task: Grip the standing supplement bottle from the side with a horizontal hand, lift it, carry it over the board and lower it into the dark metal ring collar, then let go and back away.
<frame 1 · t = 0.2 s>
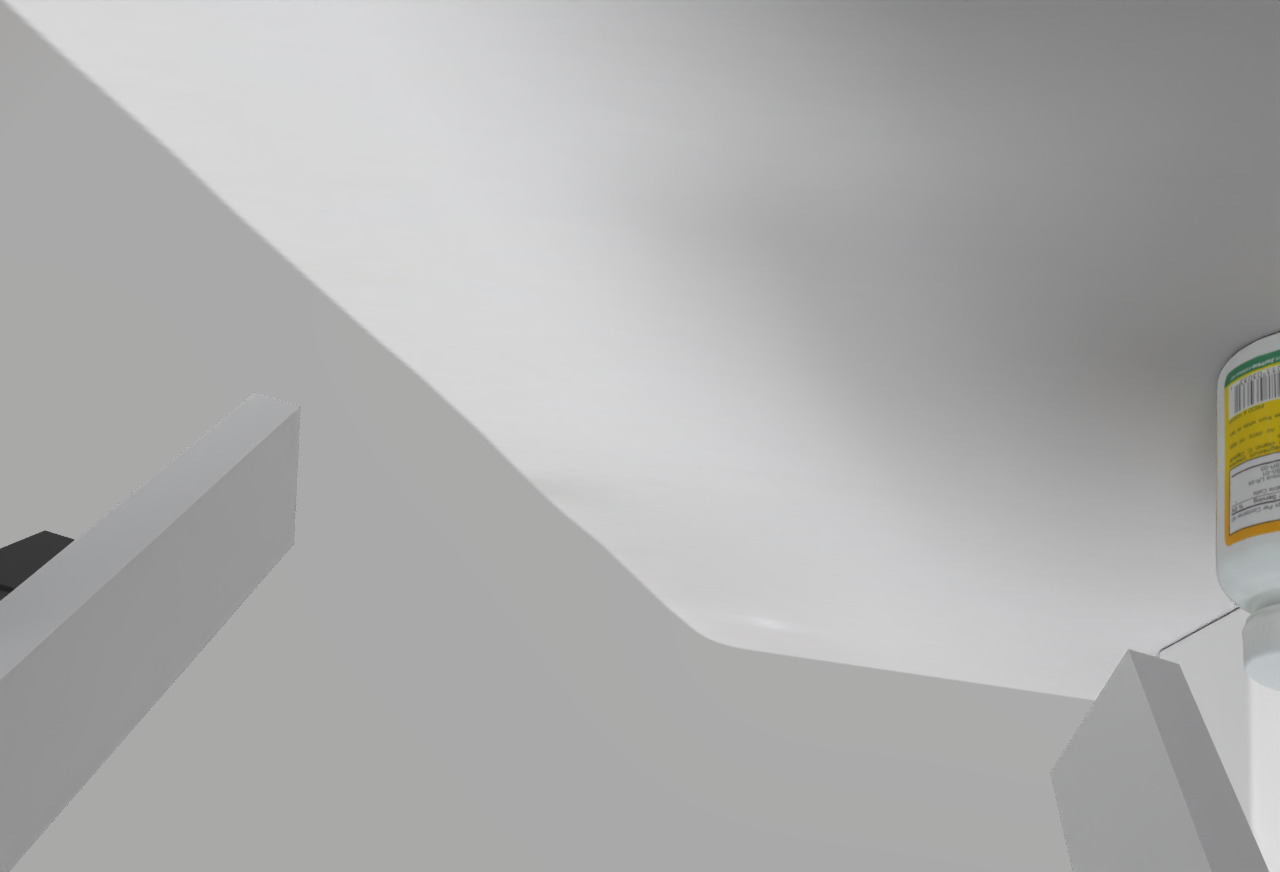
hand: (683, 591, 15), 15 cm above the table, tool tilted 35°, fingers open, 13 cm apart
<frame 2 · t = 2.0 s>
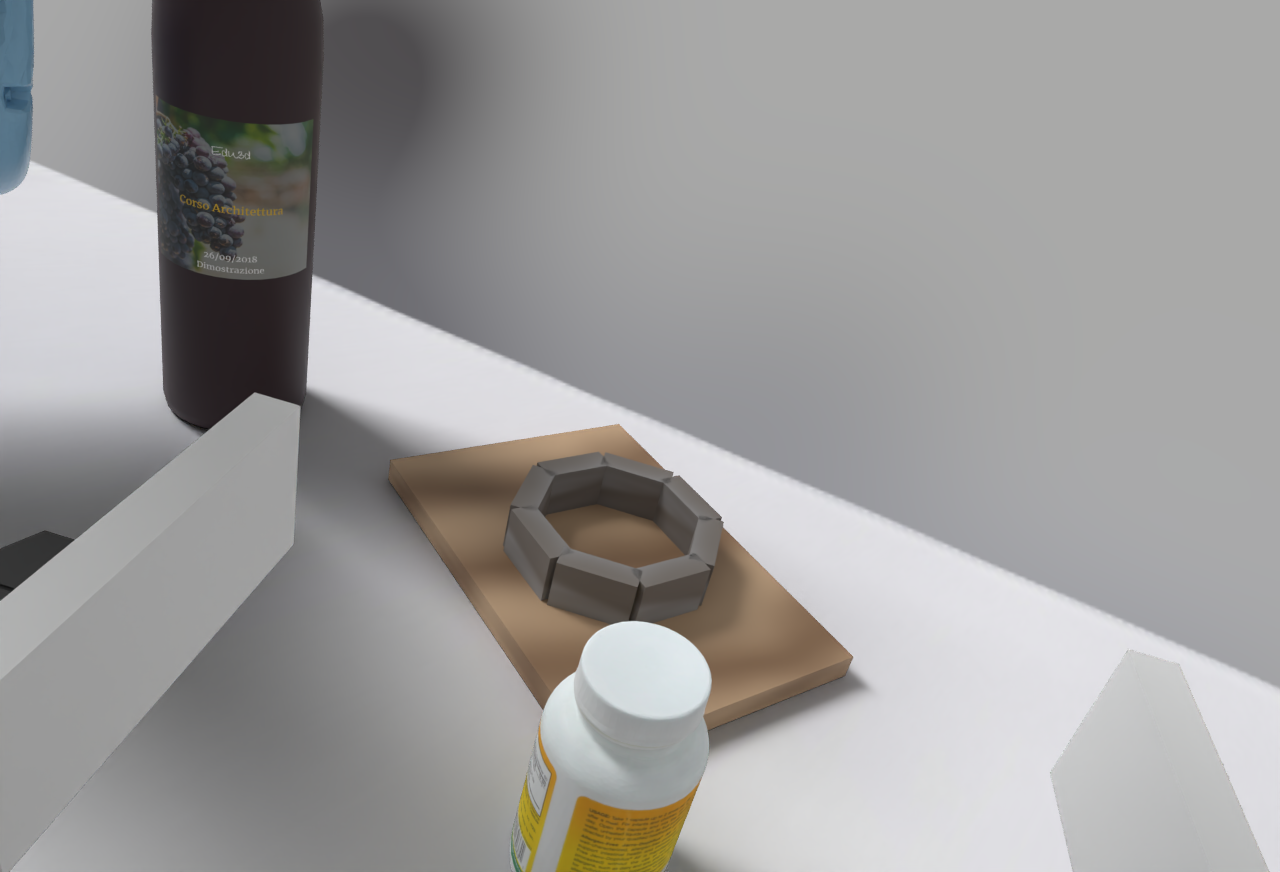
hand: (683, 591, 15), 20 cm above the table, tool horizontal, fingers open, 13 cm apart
board: (604, 572, 47), on the table
supplement bottle: (583, 867, 34), on the table
wine bottle: (236, 403, 53), on the table
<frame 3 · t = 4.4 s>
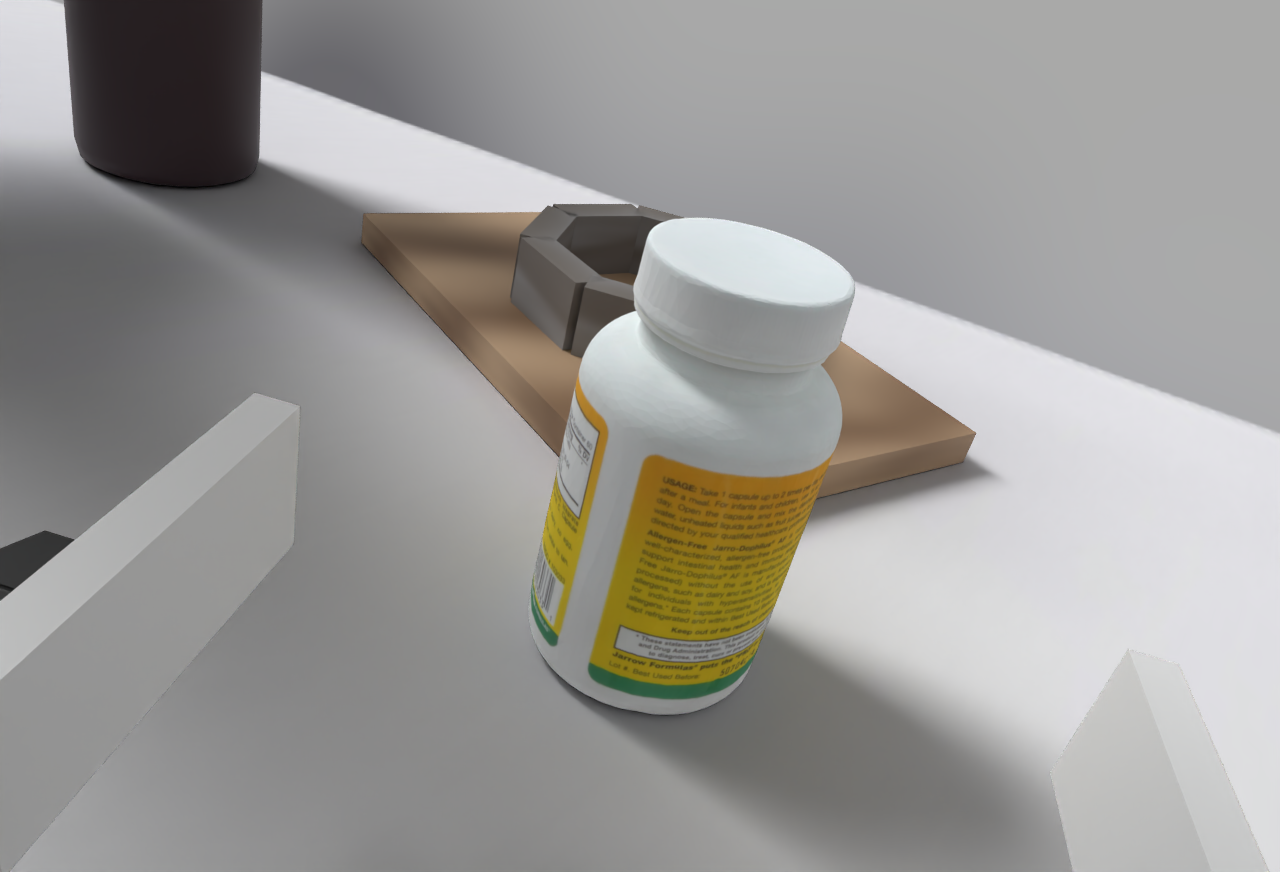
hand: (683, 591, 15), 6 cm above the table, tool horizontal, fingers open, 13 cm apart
board: (642, 344, 37), on the table
supplement bottle: (637, 643, 23), on the table
wine bottle: (170, 165, 42), on the table
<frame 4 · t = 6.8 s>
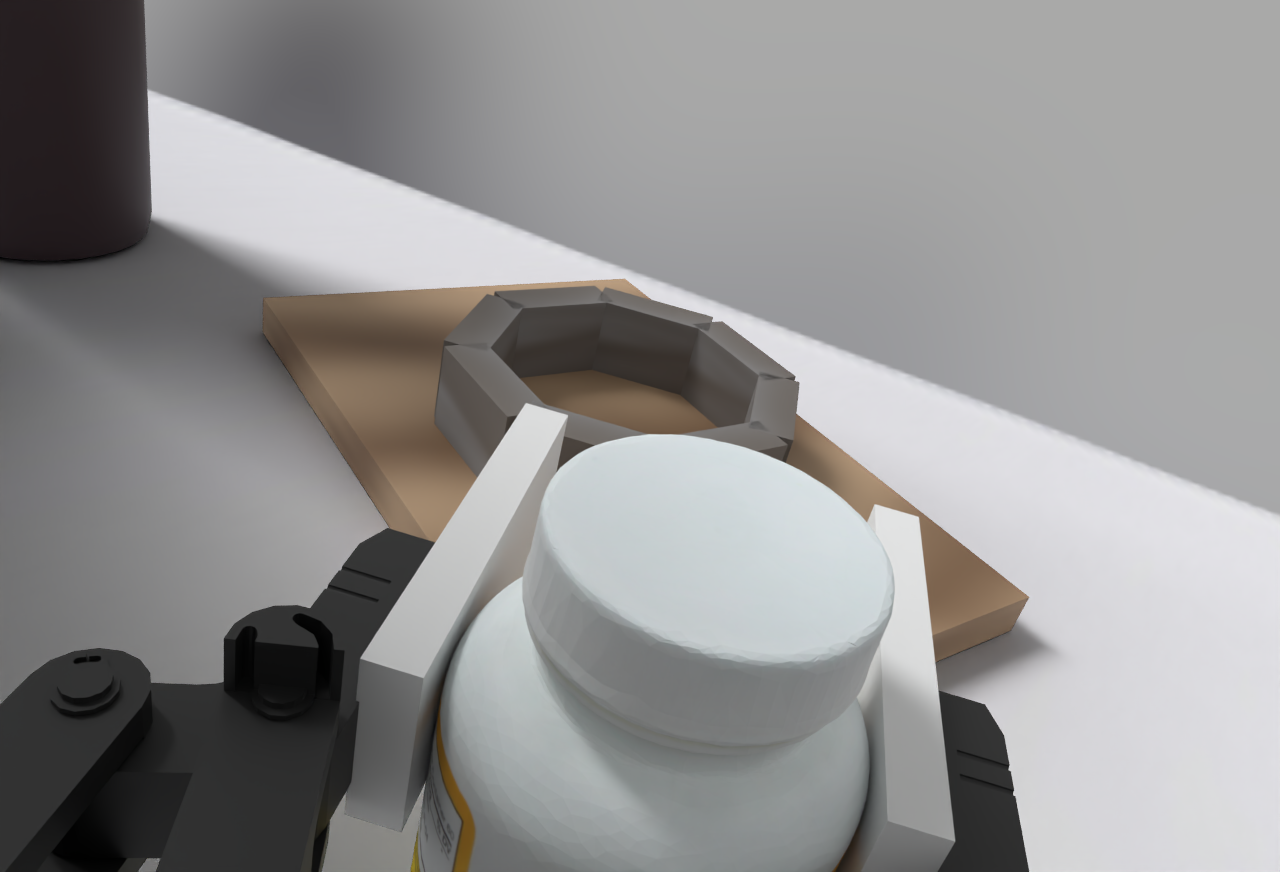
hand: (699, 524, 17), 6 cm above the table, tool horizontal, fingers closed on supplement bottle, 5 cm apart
board: (604, 468, 29), on the table
wine bottle: (41, 231, 35), on the table
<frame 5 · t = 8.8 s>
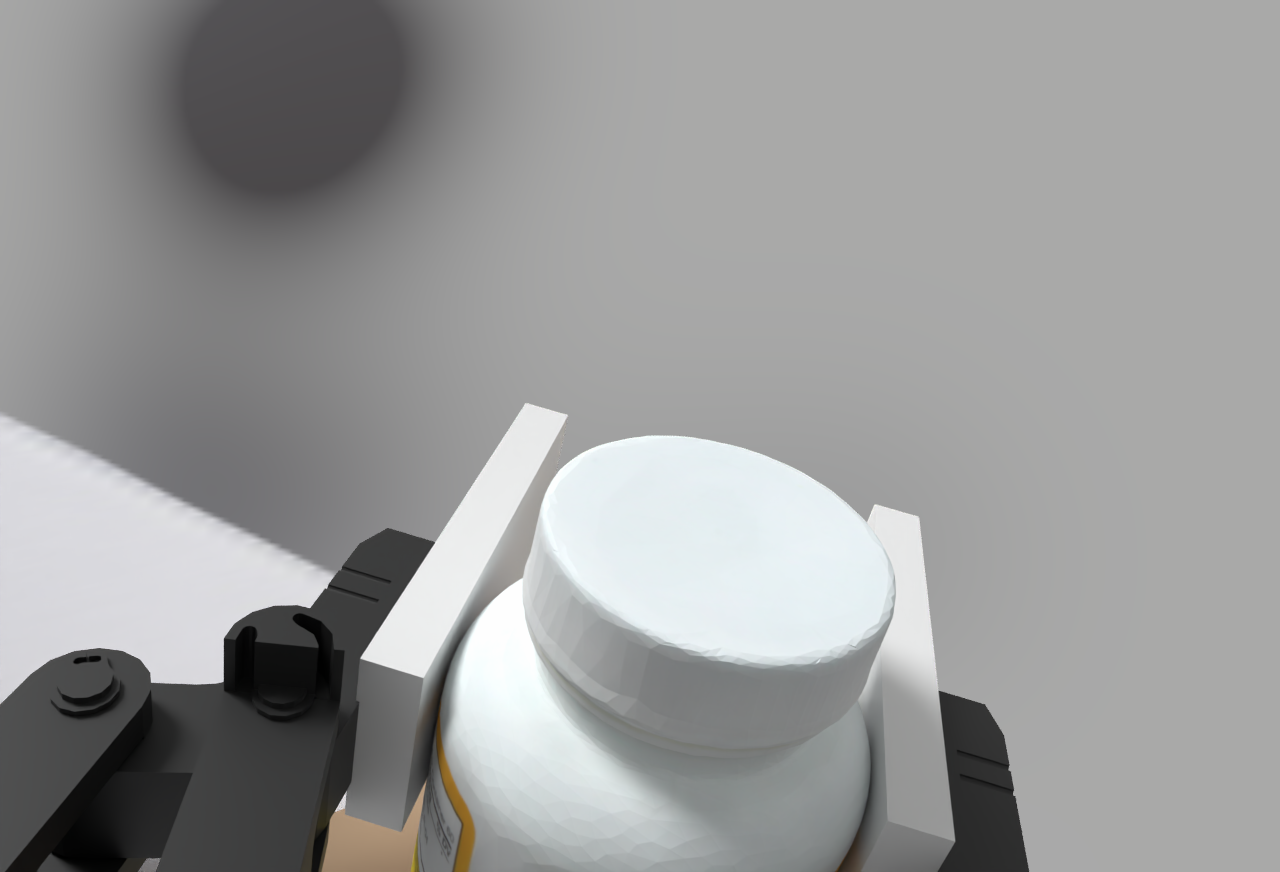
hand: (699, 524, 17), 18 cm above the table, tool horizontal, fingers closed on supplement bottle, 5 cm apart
when the fingers open (9 cm above the table, at t = 11.0 s): supplement bottle drops 2 cm, resting on board.
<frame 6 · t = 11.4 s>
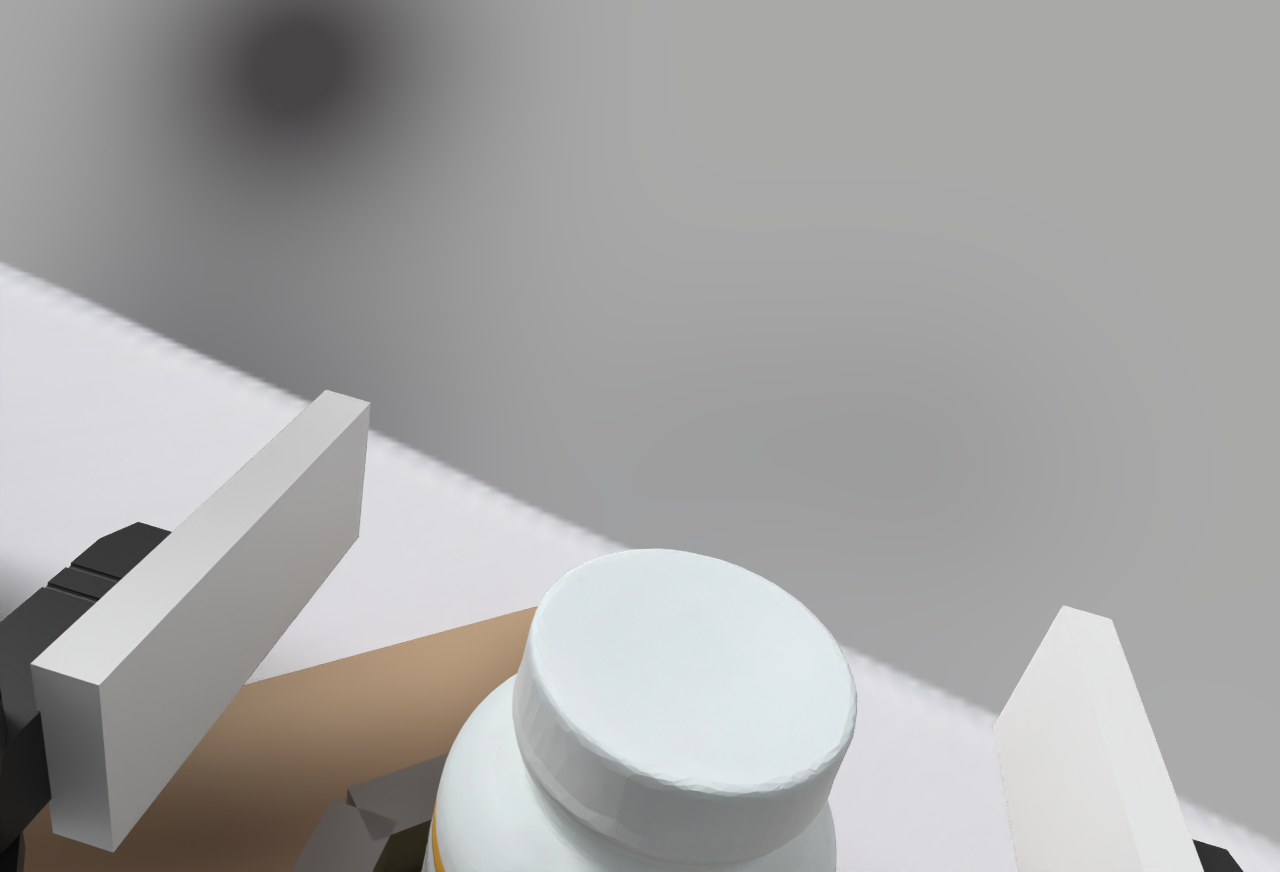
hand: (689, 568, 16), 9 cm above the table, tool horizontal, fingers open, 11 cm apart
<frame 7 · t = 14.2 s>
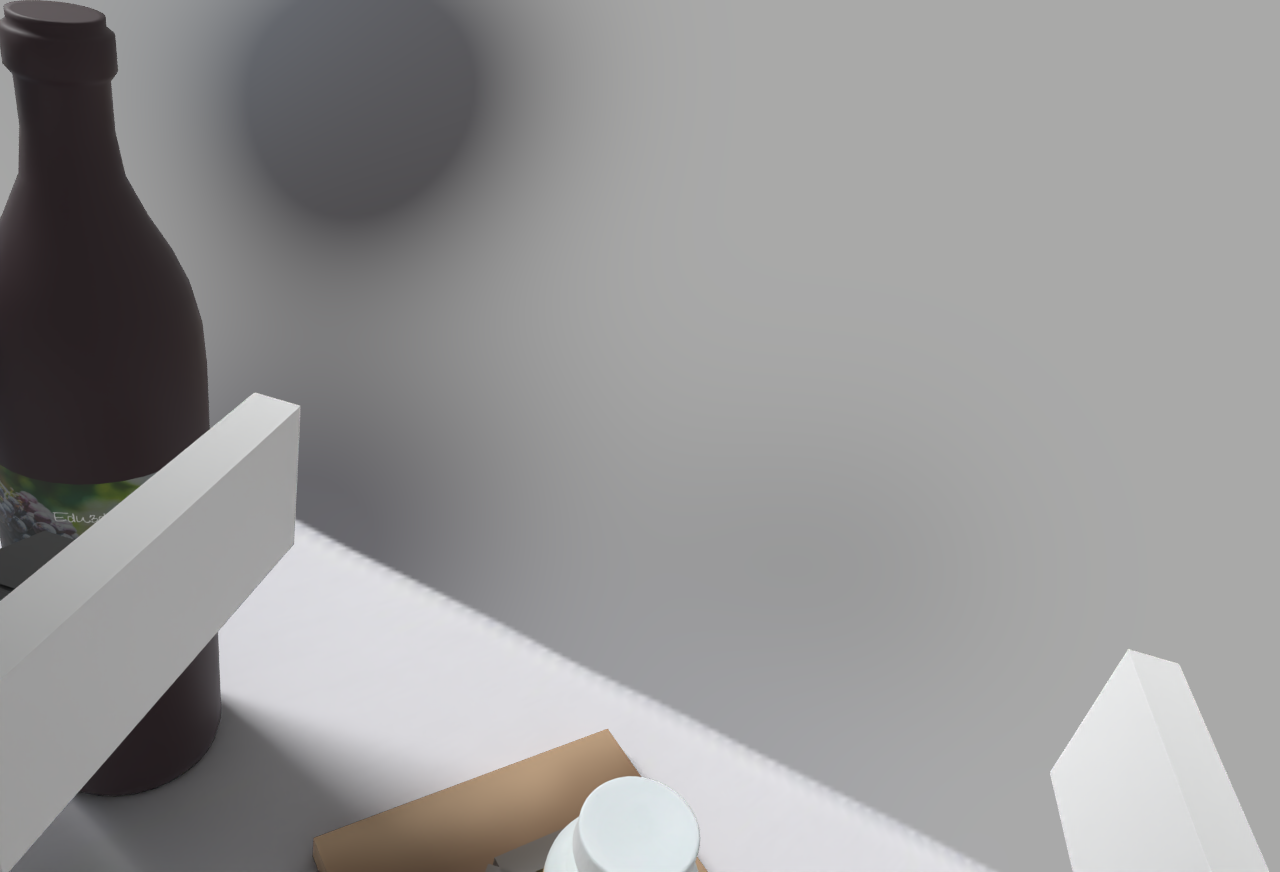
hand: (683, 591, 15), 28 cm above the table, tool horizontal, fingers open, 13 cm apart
wine bottle: (134, 736, 43), on the table
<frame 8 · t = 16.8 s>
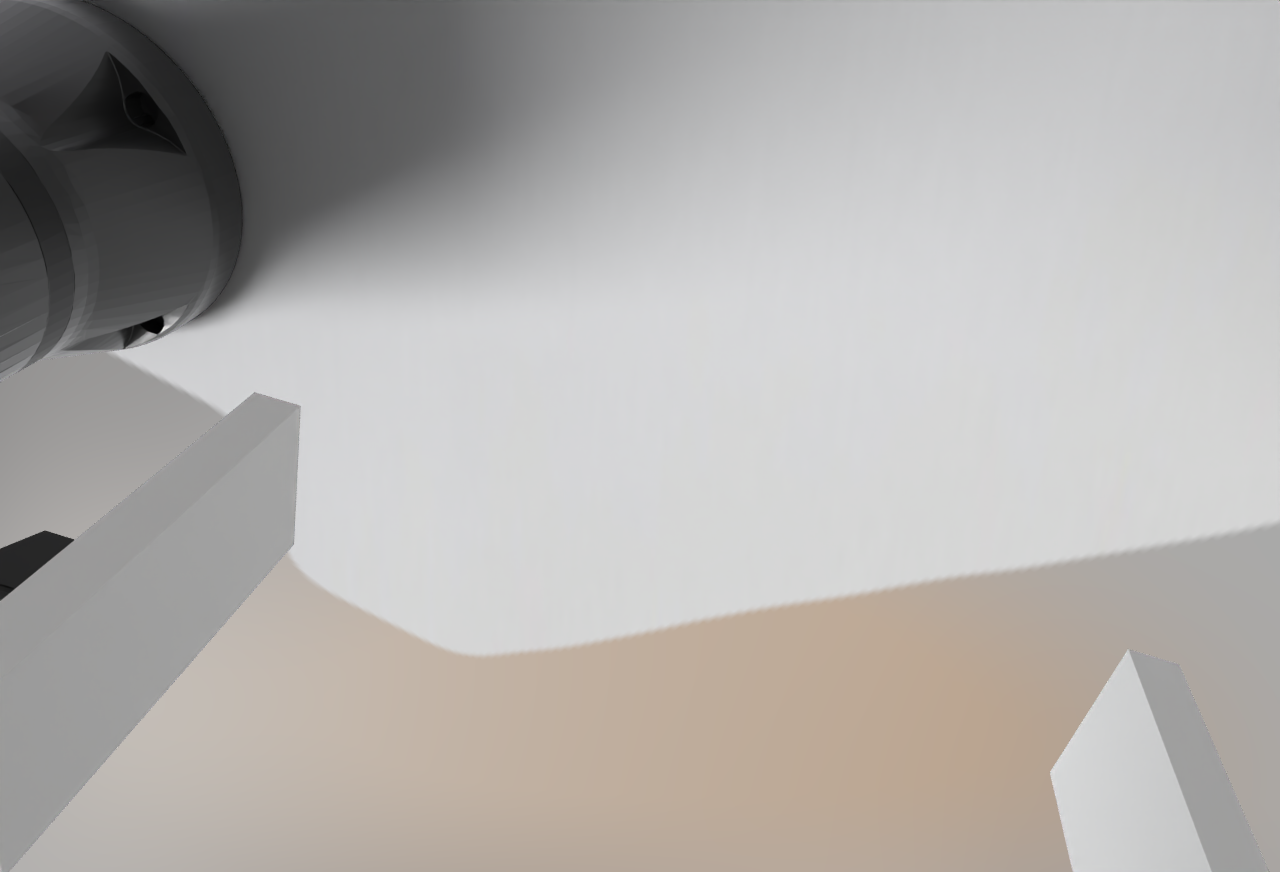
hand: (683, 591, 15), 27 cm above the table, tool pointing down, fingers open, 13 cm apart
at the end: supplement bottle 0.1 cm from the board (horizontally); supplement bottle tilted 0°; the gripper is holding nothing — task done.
